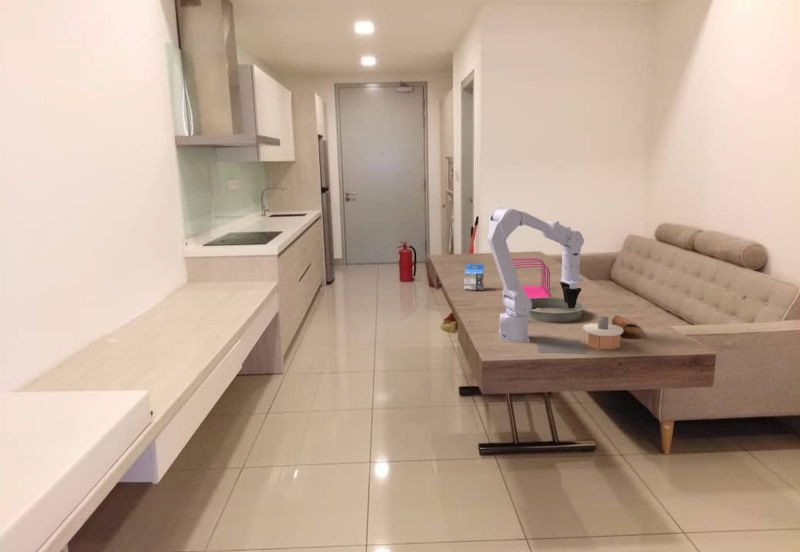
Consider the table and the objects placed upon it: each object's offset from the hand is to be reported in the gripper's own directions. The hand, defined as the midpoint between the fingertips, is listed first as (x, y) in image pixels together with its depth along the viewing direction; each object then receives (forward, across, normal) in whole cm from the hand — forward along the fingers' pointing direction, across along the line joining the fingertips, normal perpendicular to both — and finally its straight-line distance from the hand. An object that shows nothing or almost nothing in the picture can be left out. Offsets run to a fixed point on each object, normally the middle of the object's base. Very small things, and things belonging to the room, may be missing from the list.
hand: (569, 305), depth 189 cm
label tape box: (+10, +70, +34) cm, 78 cm away
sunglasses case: (+11, +4, -20) cm, 23 cm away
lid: (+5, -14, -8) cm, 17 cm away
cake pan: (+10, +25, +3) cm, 27 cm away
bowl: (+10, -14, -8) cm, 19 cm away
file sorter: (+10, +60, +10) cm, 61 cm away
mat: (+10, -16, +5) cm, 19 cm away
